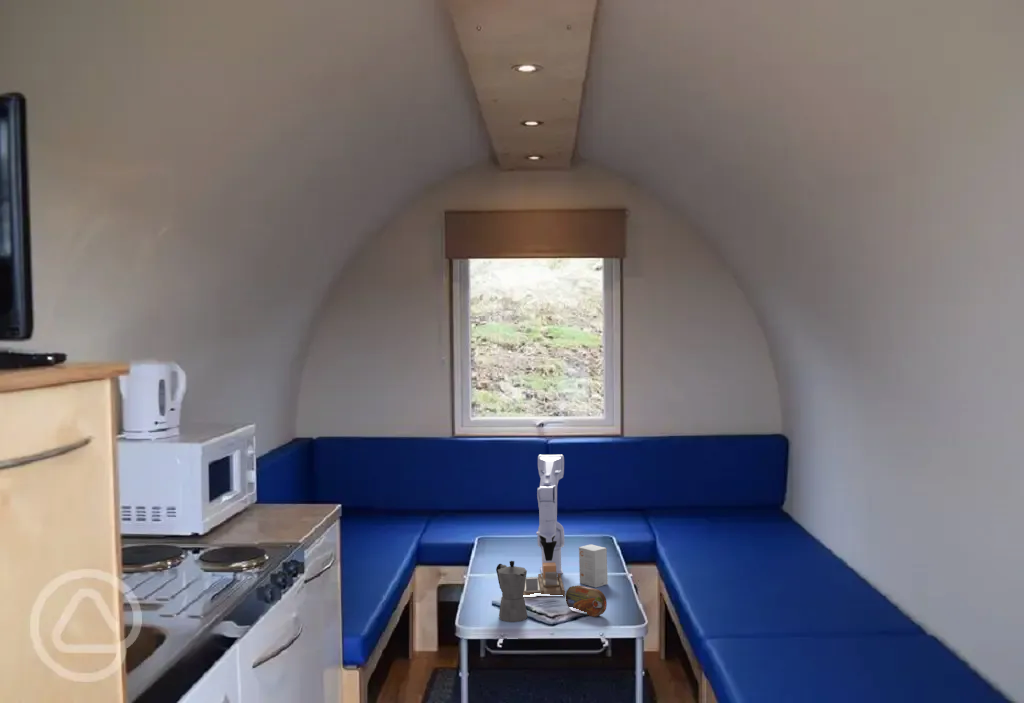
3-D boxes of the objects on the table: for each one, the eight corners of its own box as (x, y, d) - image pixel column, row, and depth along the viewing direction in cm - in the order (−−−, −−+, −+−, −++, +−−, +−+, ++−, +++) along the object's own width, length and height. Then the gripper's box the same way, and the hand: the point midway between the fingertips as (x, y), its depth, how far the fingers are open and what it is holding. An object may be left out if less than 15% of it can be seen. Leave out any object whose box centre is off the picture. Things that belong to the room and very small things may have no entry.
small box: (608, 584, 310) (607, 547, 310) (595, 588, 306) (594, 551, 306) (591, 579, 317) (591, 543, 316) (579, 583, 313) (578, 546, 312)
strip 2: (541, 574, 320) (541, 562, 320) (556, 574, 321) (555, 561, 320) (543, 586, 305) (543, 573, 305) (559, 586, 306) (558, 573, 305)
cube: (543, 575, 318) (542, 562, 318) (555, 574, 318) (555, 562, 318) (543, 578, 313) (543, 566, 313) (556, 578, 313) (556, 565, 313)
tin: (565, 609, 284) (564, 584, 283) (571, 607, 286) (570, 581, 286) (602, 619, 274) (601, 592, 273) (608, 617, 276) (608, 590, 276)
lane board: (519, 580, 317) (518, 574, 317) (560, 579, 318) (560, 573, 318) (520, 597, 297) (520, 591, 297) (564, 596, 298) (564, 589, 298)
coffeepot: (537, 619, 275) (536, 562, 274) (512, 626, 269) (510, 567, 269) (510, 607, 287) (509, 552, 287) (485, 613, 282) (484, 557, 282)
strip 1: (522, 579, 314) (522, 567, 314) (537, 579, 314) (537, 566, 314) (524, 592, 299) (523, 579, 299) (540, 592, 299) (539, 578, 299)
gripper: (535, 515, 319) (536, 552, 319) (537, 524, 305) (538, 563, 305) (554, 515, 319) (555, 552, 320) (557, 524, 305) (558, 562, 305)
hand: (548, 557), depth 312 cm, fingers open, 7 cm apart
